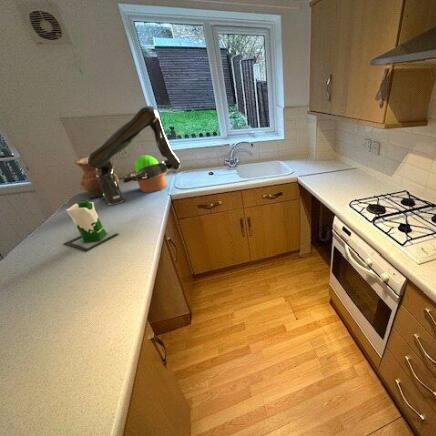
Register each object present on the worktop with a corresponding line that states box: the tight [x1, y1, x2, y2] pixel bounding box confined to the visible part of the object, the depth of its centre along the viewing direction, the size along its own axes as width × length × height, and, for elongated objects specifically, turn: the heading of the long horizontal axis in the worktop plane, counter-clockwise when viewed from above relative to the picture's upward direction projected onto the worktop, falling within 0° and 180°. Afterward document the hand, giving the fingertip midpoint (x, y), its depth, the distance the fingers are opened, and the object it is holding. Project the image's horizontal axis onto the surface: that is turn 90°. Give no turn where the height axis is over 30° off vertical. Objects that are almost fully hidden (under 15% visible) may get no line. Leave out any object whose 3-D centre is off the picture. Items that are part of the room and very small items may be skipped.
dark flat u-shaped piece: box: [63, 233, 119, 252], centre depth 120 cm, size 17×16×1 cm
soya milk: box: [65, 199, 107, 243], centre depth 116 cm, size 9×9×20 cm
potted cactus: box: [131, 155, 168, 193], centre depth 175 cm, size 22×22×25 cm
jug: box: [74, 156, 120, 197], centre depth 170 cm, size 22×21×25 cm
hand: (123, 180), depth 132 cm, fingers closed
